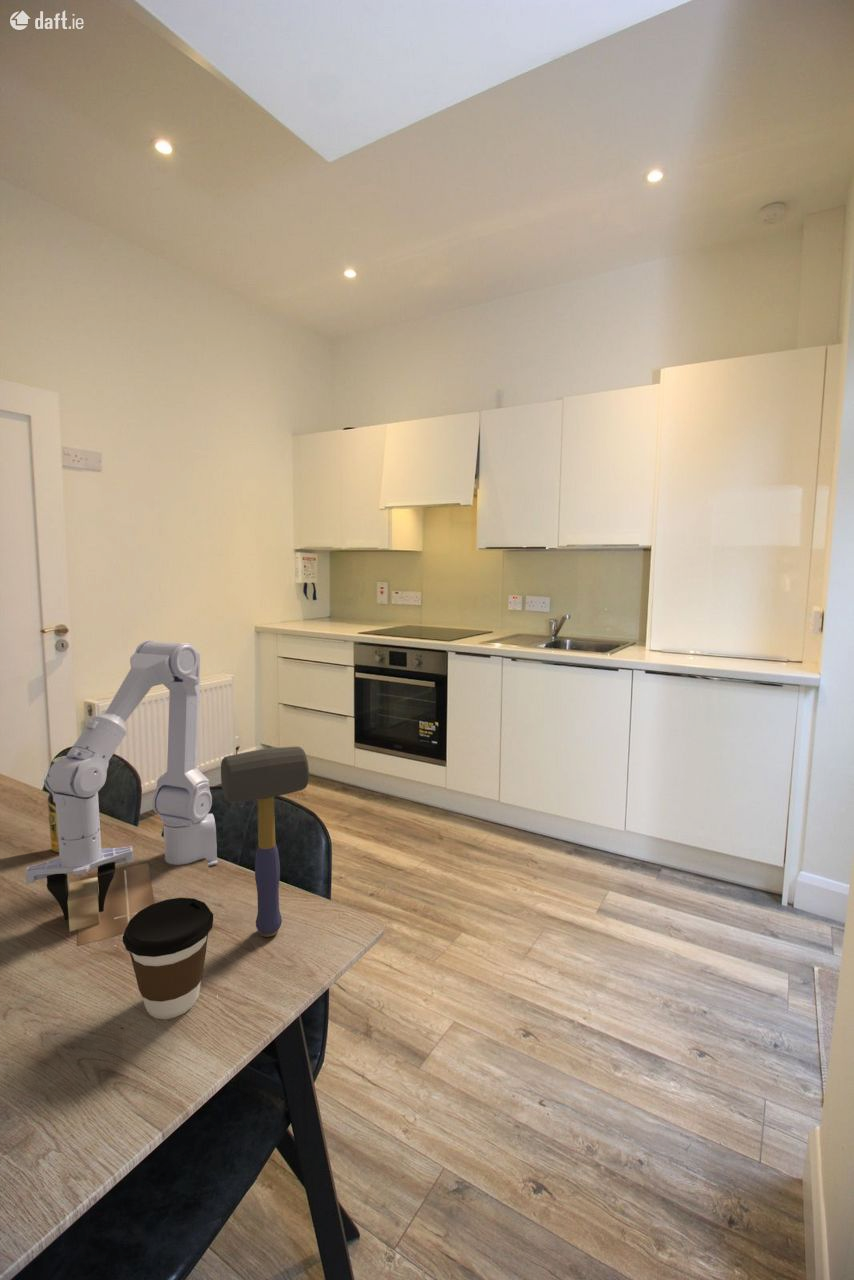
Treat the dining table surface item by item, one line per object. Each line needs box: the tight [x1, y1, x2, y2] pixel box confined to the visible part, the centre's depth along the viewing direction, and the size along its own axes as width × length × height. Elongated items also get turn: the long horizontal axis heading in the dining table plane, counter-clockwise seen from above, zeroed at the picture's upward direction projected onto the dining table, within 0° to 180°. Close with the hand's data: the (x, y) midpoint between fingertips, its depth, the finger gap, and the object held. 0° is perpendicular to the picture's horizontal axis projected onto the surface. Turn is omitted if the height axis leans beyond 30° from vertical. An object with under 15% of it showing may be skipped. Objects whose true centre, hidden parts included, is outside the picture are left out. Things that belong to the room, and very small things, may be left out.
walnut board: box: [76, 862, 156, 947], centre depth 99 cm, size 11×22×2 cm, turn 29°
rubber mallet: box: [220, 746, 310, 938], centre depth 91 cm, size 12×8×30 cm, turn 119°
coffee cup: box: [122, 897, 214, 1020], centre depth 77 cm, size 11×11×12 cm
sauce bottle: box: [47, 755, 67, 853], centre depth 117 cm, size 6×6×20 cm
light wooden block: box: [68, 877, 99, 933], centre depth 94 cm, size 4×6×6 cm, turn 29°
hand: (84, 912), depth 94 cm, fingers closed on light wooden block, 4 cm apart
